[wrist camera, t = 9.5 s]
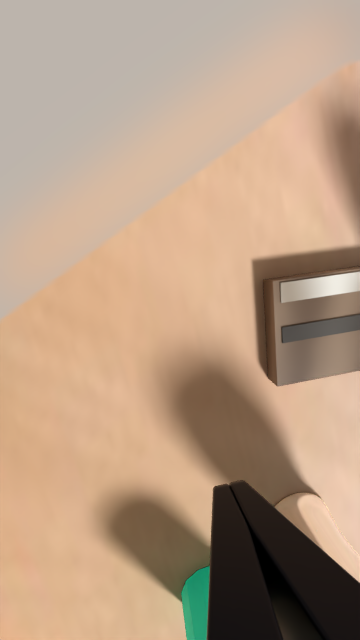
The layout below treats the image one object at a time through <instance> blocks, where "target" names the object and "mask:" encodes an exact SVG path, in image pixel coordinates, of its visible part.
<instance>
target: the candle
mask: <svg viewBox="0 0 360 640" xmlns="http://www.w3.org/2000/svg"><path fill="white" fill-rule="evenodd" d="M209 572H210V566H208V567H205V568H202V569H199V570H198V571H196V572H195V573H194V574H193V575H192V576H191V577H190V578H188V579H187V580H186V582H185V585H184V587H183V590H182V592H181V596H182V604H183V612H184V620H185V629H186V637H187V640H207V617H208V595H209Z"/></svg>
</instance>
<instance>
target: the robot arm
mask: <svg viewBox="0 0 360 640" xmlns="http://www.w3.org/2000/svg"><path fill="white" fill-rule="evenodd" d="M207 640H360V583H359V582H358V581H357V580H356V579H355V578H354V577H353V576H352V575H350V574H349V573H348V572H347V571H346V570H345V569H344V568H343V567H341V566H340V565H339V564H338V563H337V562H336V561H335V560H333V559H332V558H331V557H330V556H329V555H328V554H327V553H326V552H324V551H323V550H322V549H321V548H320V547H319V546H318V545H317V544H315V543H314V542H313V541H312V540H311V539H310V538H309V537H307V536H306V535H305V534H304V533H303V532H302V531H301V530H300V529H298V528H297V527H296V526H295V525H294V524H293V523H292V522H291V521H289V520H288V519H287V518H286V517H285V516H284V515H283V514H281V513H280V512H279V511H278V510H277V509H276V508H275V507H274V506H272V505H271V504H270V503H269V502H268V501H267V500H266V499H264V498H263V497H262V496H261V495H260V494H259V493H258V492H257V491H255V490H254V489H253V488H252V487H251V486H250V485H249V484H248V483H246V482H245V481H243V480H240V481H236V482H231V483H230V484H229V485H228V484H223V485H218V486H215V487H214V488H213V503H212V526H211V549H210V572H209V595H208V617H207Z"/></svg>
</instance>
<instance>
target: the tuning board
mask: <svg viewBox="0 0 360 640" xmlns="http://www.w3.org/2000/svg"><path fill="white" fill-rule="evenodd" d="M263 288H264V308H265V328H266V347H267V367H268V379H270V380H271V381H272V382H273V383H274V384H275V385H276V386H283V385H288V384H293V383H298V382H303V381H308V380H313V379H319V378H324V377H329V376H334V375H339V374H344V373H350V372H355V371H360V266H358V267H350V268H343V269H336V270H329V271H322V272H315V273H308V274H301V275H294V276H287V277H280V278H273V279H265V280H263Z"/></svg>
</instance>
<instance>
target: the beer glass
mask: <svg viewBox="0 0 360 640" xmlns="http://www.w3.org/2000/svg"><path fill="white" fill-rule="evenodd" d="M275 508H276V509H277V510H278V511H279V512H280V513H281V514H283V515H284V516H285V517H286V518H287V519H288V520H289V521H291V522H292V523H293V524H294V525H295V526H296V527H297V528H298V529H300V530H301V531H302V532H303V533H304V534H305V535H306V536H307V537H309V538H310V539H311V540H312V541H313V542H314V543H315V544H317V545H318V546H319V547H320V548H321V549H322V550H323V551H324V552H326V553H327V554H328V555H329V556H330V557H331V558H332V559H333V560H335V561H336V562H337V563H338V564H339V565H340V566H341V567H343V568H344V569H345V570H346V571H347V572H348V573H349V574H350V575H352V576H353V577H354V578H355V579H356V580H357V581H358V582H359V583H360V555H359V554H358V553H357V552H356V551H355V549H354V548H353V547H352V546H351V544H350V543H349V542H348V541H347V540H346V538H345V537H344V535H343V534H342V532H341V531H340V529H339V528H338V526H337V524H336V523H335V521H334V519H333V517H332V515H331V513H330V511H329V510H328V508H327V506H326V505H325V503H324V502H323V500H322V499H321V498H319V497H318V496H316V495H314V494H312V493H305V492H302V493H296V494H292V495H290V496H288V497H286V498H284V499H283V500H281V501H280V502H279V503H278V504H277V505H276V506H275Z"/></svg>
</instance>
